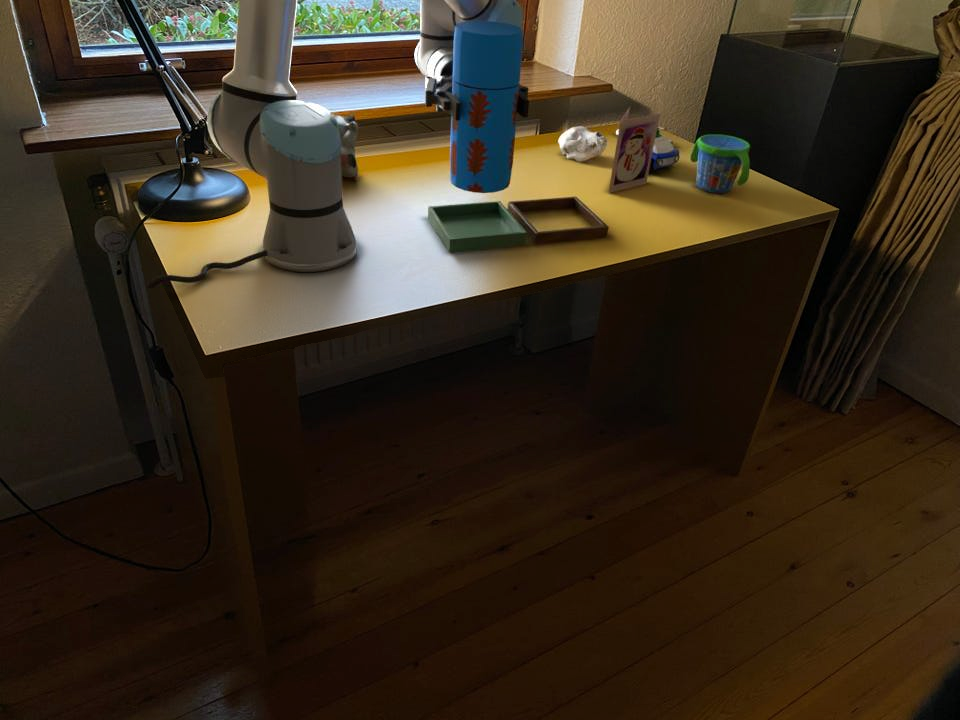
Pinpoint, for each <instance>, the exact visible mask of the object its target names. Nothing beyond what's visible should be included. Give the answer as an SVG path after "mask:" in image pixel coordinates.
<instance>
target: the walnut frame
mask: <svg viewBox="0 0 960 720" xmlns="http://www.w3.org/2000/svg"><path fill="white" fill-rule="evenodd" d="M570 209H573V210H574V211H575V212H576V213H577V214H578V215H579V216H580V217H581V218H582V219H583V220H584V221H585V222H587V223H588V225H590V226H585V227H574V228H562V229H552V230H543V231H542V230H541V231H538V229H536V227H535V226H534V224H532V223H531V222H530V220H529V219H528V218H527V217H526V216H525V215H524V214H523V213H531V212H532V213H533V212H543V211H557V210H570ZM507 210H508V211H509V212H510V213H511V214H512V216H513V217H514V218H515V219H516V220H517V221H518V223H519V224H520V225H521V226H522V227H523V228H524V230H525V231H526V232H527V238H528V239H529V240H530V241H531V242H532V243H533V244H534V245H544V244H545V245H546V244H554V243H564V242H566V243H567V242H577V241H586V240H596V239H607V238H608V235H609V229H610V227H609V225H608V224H607V223H605V221H603V220H602V219H601V217H599V216H598V215H597V214H596V213H595V212H594V211H593V210H592V209H590V207H588V205H586V204H585V203H584V202H583V201H582V200H581V199H580V198H578V196H565V197H563V196H562V197H552V198H540V199H539V198H538V199H537V198H536V199H526V200H512V201H508V202H507Z"/></svg>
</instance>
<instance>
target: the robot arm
mask: <svg viewBox="0 0 960 720" xmlns="http://www.w3.org/2000/svg"><path fill="white" fill-rule="evenodd" d="M297 5H298V0H238V5H237V6H238V9H237V19H236V32H235V33H236V34H235V44H234V45H235V47H234V48H235V49H234V59H233V68H232V70H231V71H229V72H228V73H227V74H226V75H224V76H223V77H222V82H221V83H222V84H221V91H220V92H218V93H217V96H216V97H215V98H213V99H212V100H211V102H210V104H209V108H208V110H207V115H206V125H207V131H208V134H209V137H210V140H211V141H212V143H213V144H214V145H215V147H216V148H217V149H218V151H220V152H221V153H222V154H223V155H225V157H227V158H228V159H229V160H230V161H232V162H233V163H234V164H237V165H240V166H241V167H244V168H246V169H247V170H250V171H251V172H253V173H255V174H257V175H259V176H260V177H262V178H264V179H265V180H266V186H267V195H268V202H269V213H268V216H267V221H266V225H265V230H264V233H263V239H262V250H261V251H258V252H256V253H252V254H250V255H247V256H245V257H242V258H240V259H237V260H235V261H232V262H231V261H230V262H221V261H220V262H217V261H215V262H209V263H207V264H205V265H203V266H202V268H201V270H200V273H199V274H197V275H194V276H182V275H174V274H163V275H159V276H156V277H154V278H153V279H152V280H151V281H150V282H149V283H148V284H147V285H146V289H153V288H156V286H157V285H159V284H161V283H163V282H174V283H175V282H177V283H184V284H185V283H186V284H193V283H197V282H201V281H203V280H204V279H205V278H206V276H207V275H208V272H209V271H211V270H213V269H222V270H223V269H224V270H227V269H228V270H229V269H230V270H231V269H235V268H238V267H241V266H244V265H245V264H247V263H250V262H253V261H256V260H259V259H261V258H264V259H265V261H267V262H268V263H269V264H271V265H272V266H273V267H276V268H279V269H282V270H286V271H290V272H291V271H292V272H300V273H315V272H316V273H317V272H324V271H329V270H332V269H335V268H336V269H337V268H339V267H341V266H343V265H345V264H347V263H348V262H350V261H351V260H353V258H354V257H355V255H356V253H357V240H356V236H355V234H354V230H353V227H352V224H351V223H350V220H349V218H348V216H347V214H346V210H345V208H344V199H343V196H344V194H343V176H342V170H341V137H340V132H339V126H338V122H337V120H336V118H335V116H336V115H334V114H333V113H332V112H331V111H330V110H329V109H327V108H326V107H324V106H321V105H320V104H317V103H314V102H304V100H297V96H298V91H297V90H296V88H295V87H294V86H293V84H292V83H291V82H290V73H291V62H292V53H293V44H294V36H295V35H294V34H295V25H296V24H295V23H296V16H297ZM523 19H524V16H523V9H522V7H521V5H520V3H519V2H518V1H517V0H419V25H420V26H419V29H420V31H419V42H418V43H417V45H416V48H415V50H414V61H415V64H416V66H417V69H418V70H419V71H420V73H421V74H422V75H423V77H424V78H425V79H424V80H425V81H424V82H425V84H424V85H425V89H424V106H425V107H427V108H430V107H433V105H435V106H436V108H435V109H436V110H435V111H436V112H437V113H443V112H444V111H446V112H447V113H448V114H449V115H450V117H451V116H452V117H453V118H454V119H455V120H456V121H458V120H460V111H461V103H460V102H459V101H458V100H457V99H456V98H455V97H454V96H453V95H452V80H453V50H454V34H455V27H456V25H457V24H458V23H462V22H469V21H490V22H500V23H507V24H511V25H515V26H518V27H520V28H521V29H522V26H523ZM528 98H529V87H528V86H526V85H522V84H521V83H520V84H519V96H518V107H517V114H518V115H520V117H522V118H528V117H529V109H530V108H529V107H530V100H529V99H528ZM153 389H154V393H155V397H156V401H157V405H158V409H159V411H160V416H161V420H162V425H163V427H164V431H165V434H166V438H167V442H168V447H169V449H170V453H171V457H172V461H173V465H174V468H175V469H174V470H175V474H176V480H177V481H178V482H182V481H183V480H184V478H183V477H184V476H183V472H182V469H181V462H180V460H179V455H178V451H177V447H176V443H175V439H174V436H173V431H172V427H171V423H170V420H169V416H168V413H167V409H166V406H165V405H166V404H165V401H164V397H163V394H162V389H161V385H154V386H153Z"/></svg>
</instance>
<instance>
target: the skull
mask: <svg viewBox="0 0 960 720" xmlns="http://www.w3.org/2000/svg"><path fill="white" fill-rule="evenodd" d="M557 143H558V144H559V149H560V151H561V154H562V156H565V155H566V156H565V158H567V159H574V160H575V161H576V162H579V163H582V162H585V161H587V160H590V159H592V158H596V157H599V156H600V155H602V154H603V153H604V152H605V150H606V148H607V145H608V138H606V136H604V135H603V134H602V133H601V132H600V131H595V132H592V131H590V130H589V129H588V127H586V126H582V125H580V126H579V125H578V126H573V127H571V128H569V129H567V130H565V131H564V132H563V133H562V134H560V136H559V138H558V140H557Z"/></svg>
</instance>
